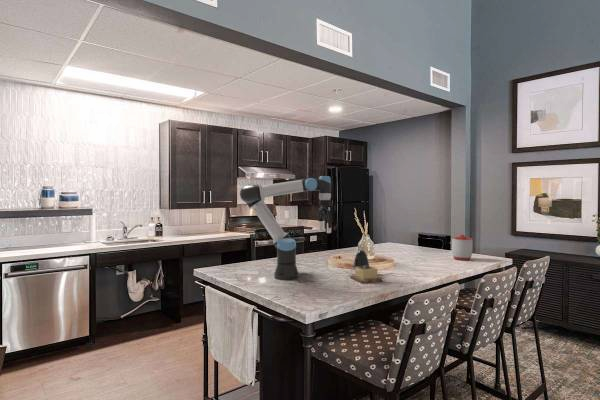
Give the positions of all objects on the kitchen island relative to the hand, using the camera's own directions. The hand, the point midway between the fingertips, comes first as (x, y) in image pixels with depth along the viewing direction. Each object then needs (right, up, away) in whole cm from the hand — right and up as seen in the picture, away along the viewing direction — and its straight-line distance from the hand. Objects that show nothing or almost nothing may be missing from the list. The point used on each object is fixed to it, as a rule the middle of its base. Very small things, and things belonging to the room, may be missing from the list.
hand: (324, 232), depth 240 cm
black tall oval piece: (+23, -27, -3) cm, 36 cm away
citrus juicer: (+112, -26, +50) cm, 125 cm away
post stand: (+23, -27, -21) cm, 41 cm away
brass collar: (+23, -26, -21) cm, 41 cm away
